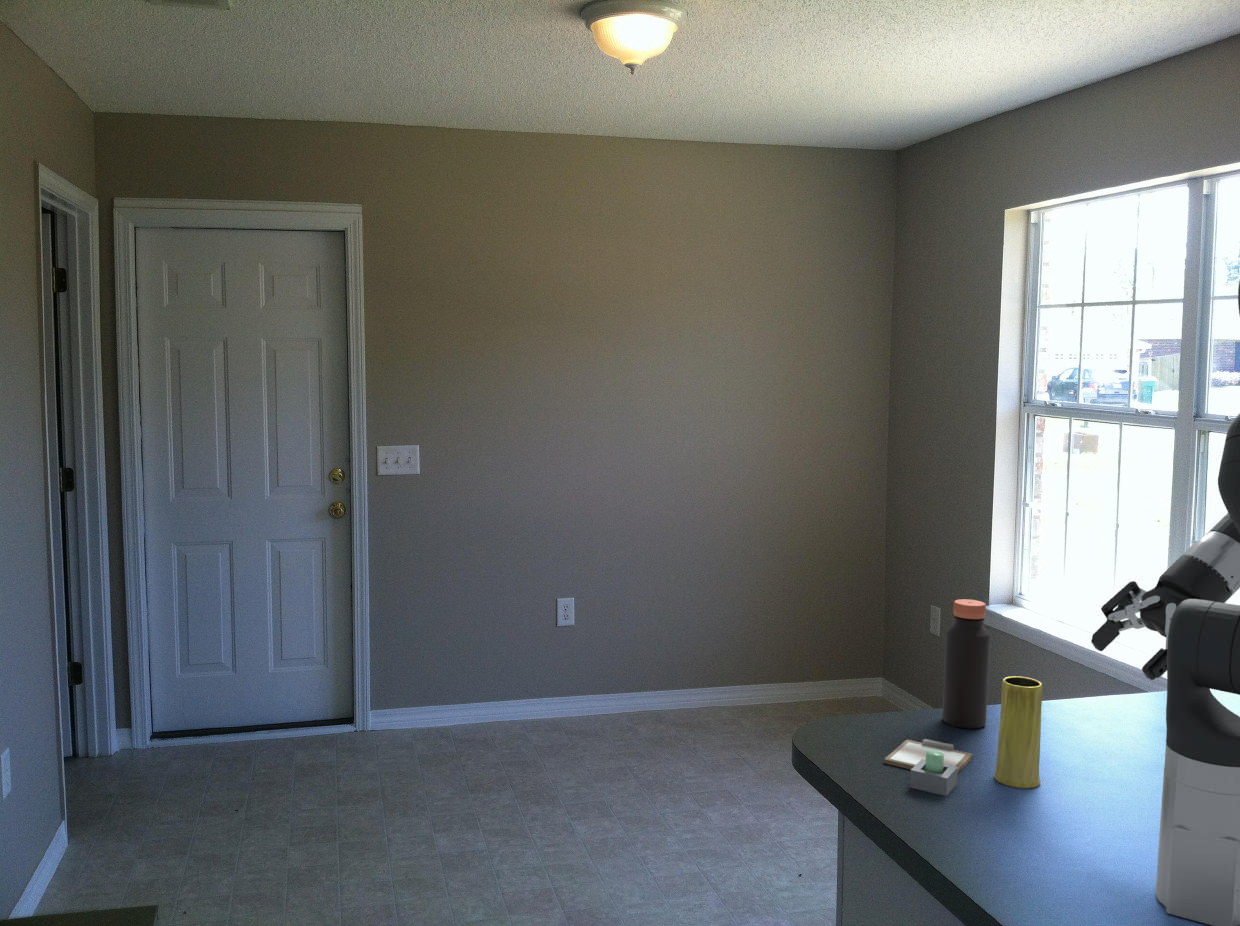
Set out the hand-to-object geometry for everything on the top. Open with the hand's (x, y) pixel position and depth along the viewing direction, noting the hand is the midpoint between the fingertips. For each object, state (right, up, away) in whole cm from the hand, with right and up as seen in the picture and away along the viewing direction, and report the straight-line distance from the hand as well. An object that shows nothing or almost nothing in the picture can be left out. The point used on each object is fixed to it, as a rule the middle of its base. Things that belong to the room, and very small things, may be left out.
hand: (1120, 660), depth 134 cm
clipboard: (-19, -19, +20) cm, 33 cm away
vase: (-8, -20, +13) cm, 25 cm away
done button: (-21, -18, +11) cm, 29 cm away
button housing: (-21, -19, +11) cm, 30 cm away
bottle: (-8, -17, +37) cm, 42 cm away
